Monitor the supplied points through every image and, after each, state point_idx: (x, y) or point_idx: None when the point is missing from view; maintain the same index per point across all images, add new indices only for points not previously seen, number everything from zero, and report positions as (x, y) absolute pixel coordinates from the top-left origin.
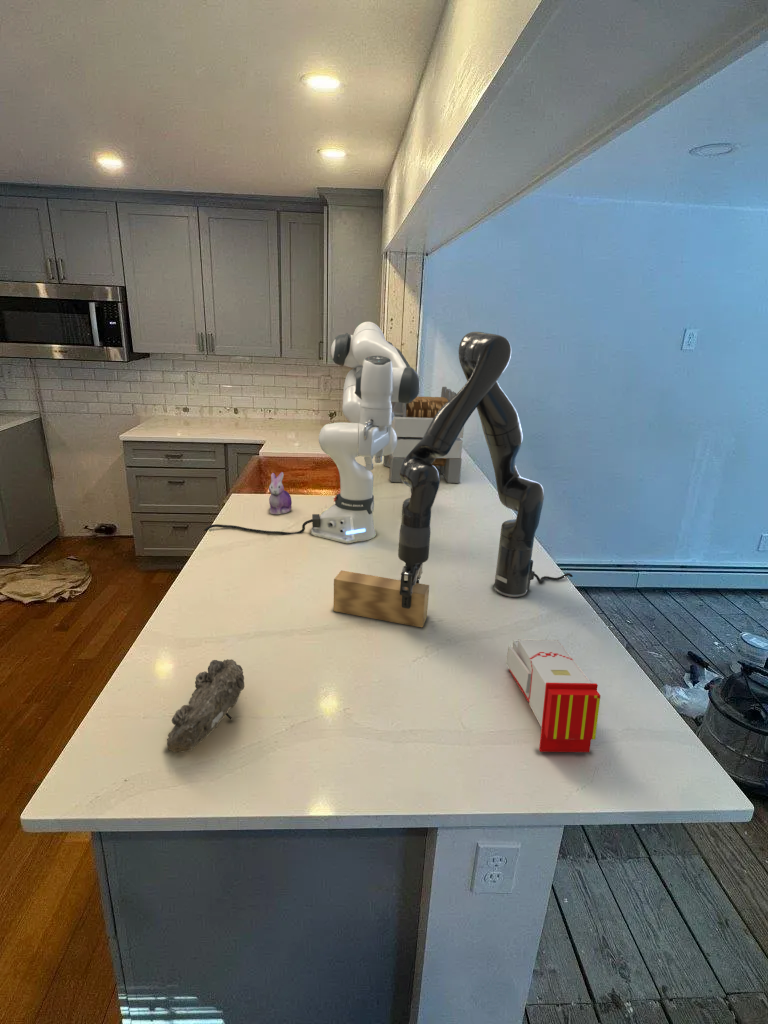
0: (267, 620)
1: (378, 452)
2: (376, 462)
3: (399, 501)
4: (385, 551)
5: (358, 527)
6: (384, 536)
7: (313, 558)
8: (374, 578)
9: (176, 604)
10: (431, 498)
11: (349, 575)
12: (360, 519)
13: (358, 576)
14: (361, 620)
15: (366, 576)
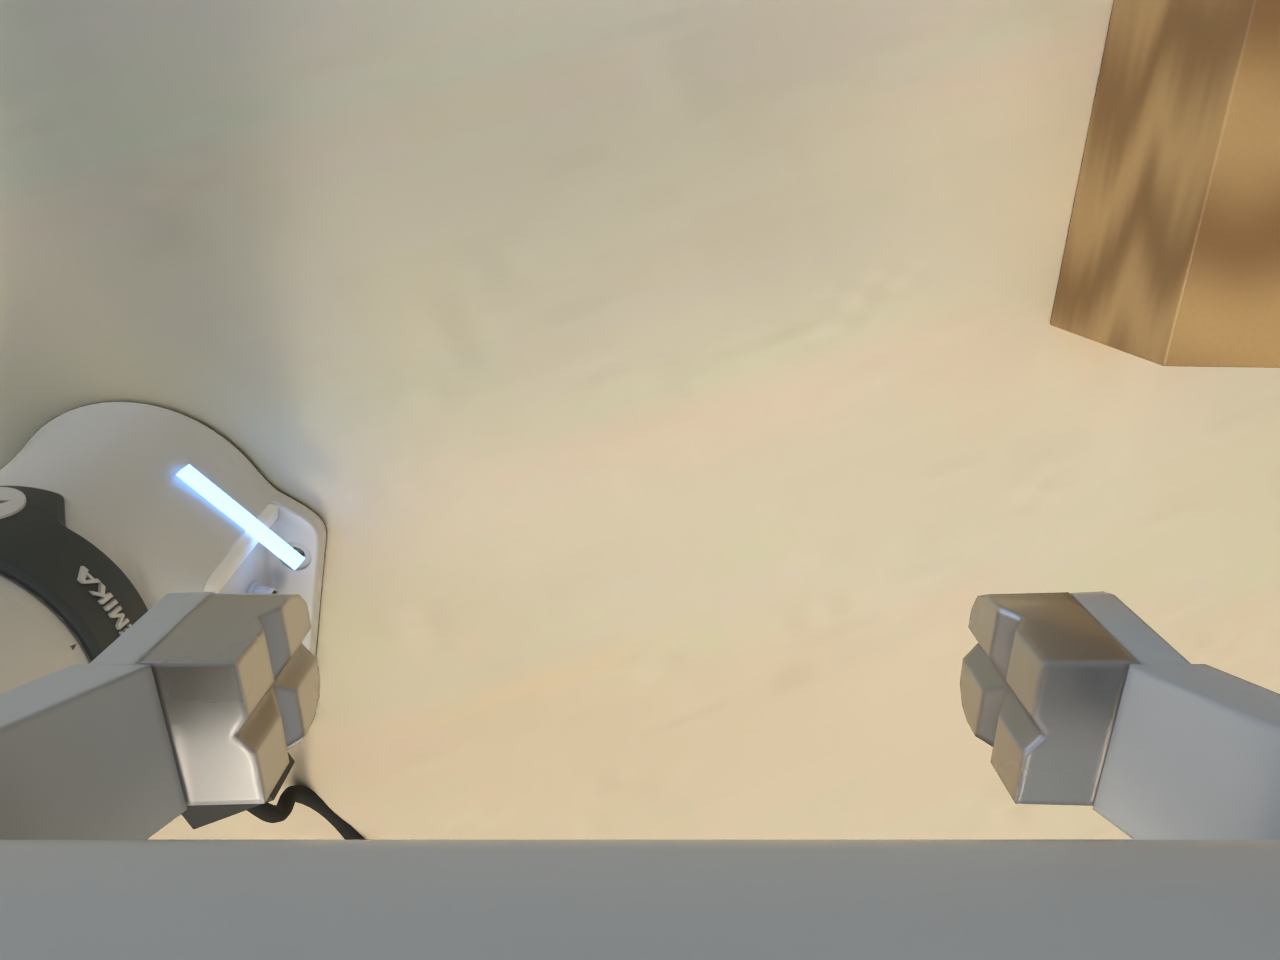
0: (1265, 570)
1: (52, 834)
2: (315, 673)
3: None
4: (317, 267)
5: (208, 515)
6: (78, 342)
7: (595, 621)
8: (1268, 104)
9: None
10: None
11: (1236, 289)
12: (159, 531)
13: (1245, 226)
14: None
15: (1240, 171)
